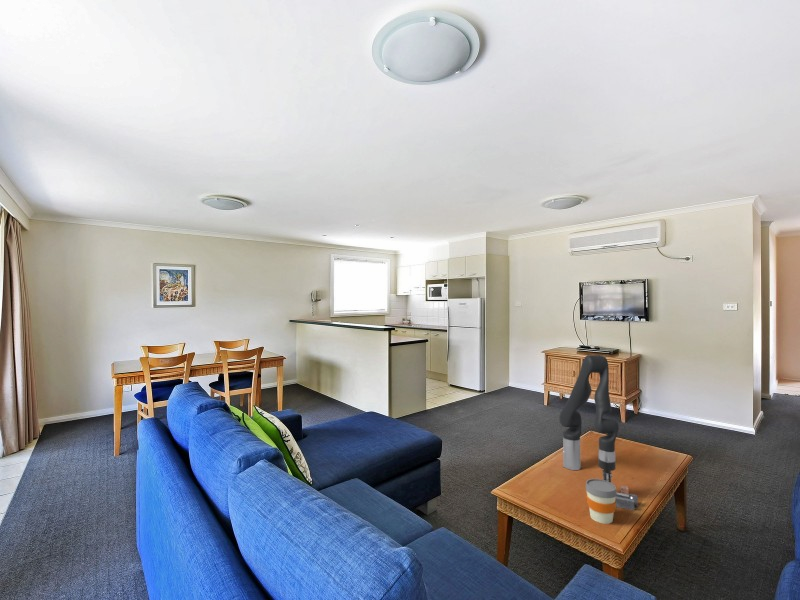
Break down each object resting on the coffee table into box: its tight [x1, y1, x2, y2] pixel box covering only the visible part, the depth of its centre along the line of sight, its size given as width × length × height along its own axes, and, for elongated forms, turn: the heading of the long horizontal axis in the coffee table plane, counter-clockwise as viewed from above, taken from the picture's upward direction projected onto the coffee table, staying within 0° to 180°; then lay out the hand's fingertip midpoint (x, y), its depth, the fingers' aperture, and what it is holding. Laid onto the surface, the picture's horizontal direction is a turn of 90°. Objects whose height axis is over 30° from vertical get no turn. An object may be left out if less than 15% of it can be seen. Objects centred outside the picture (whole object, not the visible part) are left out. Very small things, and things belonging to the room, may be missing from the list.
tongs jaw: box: [615, 497, 635, 511], centre depth 182 cm, size 15×3×4 cm, turn 63°
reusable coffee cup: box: [585, 478, 618, 525], centre depth 172 cm, size 13×13×15 cm
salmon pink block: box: [620, 484, 630, 495], centre depth 189 cm, size 3×3×5 cm
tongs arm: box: [616, 492, 639, 508], centre depth 185 cm, size 17×4×5 cm, turn 58°
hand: (607, 492), depth 190 cm, fingers closed
